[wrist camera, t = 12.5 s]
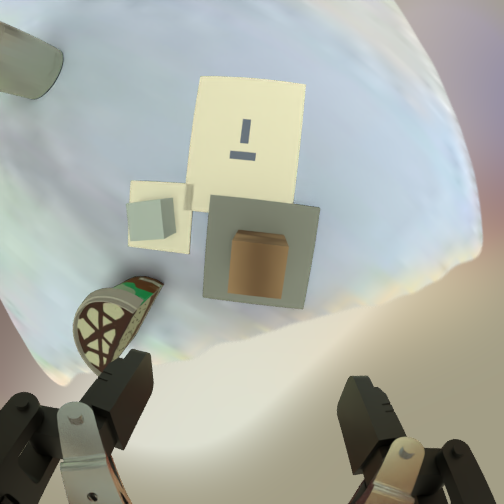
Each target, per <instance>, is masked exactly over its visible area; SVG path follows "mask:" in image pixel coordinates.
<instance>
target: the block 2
mask: <svg viewBox="0 0 504 504" xmlns="http://www.w3.org/2000/svg"><path fill="white" fill-rule="evenodd" d="M288 250H289V246H288V243H287V241H286V238H285V236H284V235H280V234H272V233H263V232H255V231H246V230H238V231H237V233H236V235H235V236H234V238H233V240H232V248H231V259H230V270H229V281H228V293H232V294H240V295H248V296H257V297H266V298H275V299H281V296H282V290H283V283H284V277H285V270H286V263H287V256H288Z"/></svg>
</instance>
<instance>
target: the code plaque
mask: <svg viewBox="0 0 504 504" xmlns="http://www.w3.org/2000/svg"><path fill="white" fill-rule="evenodd" d="M305 87H306V85H304V84H298V83H291V82H284V81H276V80H266V79H256V78H242V77H220V76H200V82H199V87H198V93H197V99H196V106H195V112H194V119H193V126H192V133H191V141H190V149H189V157H188V166H187V176H186V185H187V186H188V184H190V185H189V186H188V187H189V188H188V187H187V186H186V189H187V191H188V190H189V191H191V190H193V189H194V190H193V191H191V192H188V194H186V193H187V191H185V192H186V193H185V194H186V195H187V196H188V195H192V194H193V195H192V199H191V200H190V201H189V199H190V198H189V199H186V198H187V197H186V195H185V197H186V198H185V197H184V198H185V199H186V201H185V199H184V202H187V203H186V204H188V202H189V204H188V205H189V206H187V205H185V206H184V207H187V208H188V207H189V208H190V206H191V208H190V209H192V210H188V209H189V208H188V209H187V208H186V209H187V210H188V211H198V212H208V213H209V204H210V195H220V196H230V197H240V198H249V199H258V200H266V201H274V202H282V203H290V204H293V200H294V192H295V184H296V175H297V167H298V158H299V149H300V140H301V130H302V120H303V110H304V99H305ZM193 184H194V185H193ZM191 185H193V187H194V188H193V187H192V186H191ZM192 188H193V189H192ZM192 192H193V193H192ZM190 193H191V194H190ZM189 197H190V196H189ZM187 200H188V201H187ZM192 200H193V201H192ZM191 202H192V203H191ZM190 203H191V205H190ZM184 204H185V203H184ZM186 209H185V208H184V209H183V210H186Z"/></svg>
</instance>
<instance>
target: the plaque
mask: <svg viewBox="0 0 504 504" xmlns="http://www.w3.org/2000/svg"><path fill="white" fill-rule="evenodd" d="M189 185H190V184H188V186H189ZM193 185H194V184H193ZM193 185H191V186H192V187H193ZM186 186H187V185H186V184H185V183H170V182H152V181H131V186H130V201H129V203H134V202H140V201H148V200H156V199H164V198H173V205H174V216H175V226H176V233H174V234H172V235H170V236H169V237H167V238H165V239H156V240H142V241H130V235H129V227H128V246H130V247H138V248H145V249H153V250H161V251H169V252H176V253H184V254H190V238H191V224H192V211H188V210H192V209H190V208H191V206H190V208H189V207H188V208H189V209H188V208H187V207H184V206H185V205H187V206H189V205H188V204H189V202H188V204H186V203H187V202H184V199H185V198H186V197H187V198H186V199H189V198H190V199H189V201H190V200H191V199H192V195H193V194H192V195H188V196H187V195H186V194H188V192H191V191H193V190H194V189H193V188H194V187H193V188H192V189H193V190H191V191H189V190H188V191H187V189H186ZM188 186H187V187H188ZM188 188H189V187H188ZM185 191H187V193H186V192H185ZM185 193H186V194H185ZM192 193H193V192H192ZM190 194H191V193H190ZM185 195H186V197H185ZM189 196H190V197H189ZM184 197H185V198H184ZM186 199H185V201H186ZM187 201H188V200H187ZM192 201H193V200H192ZM184 203H185V204H184ZM191 203H192V202H191ZM191 203H190V205H191ZM184 208H185V209H186V208H187V209H188V210H187V209H186V210H183V209H184Z"/></svg>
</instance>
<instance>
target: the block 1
mask: <svg viewBox="0 0 504 504" xmlns="http://www.w3.org/2000/svg"><path fill="white" fill-rule="evenodd" d="M126 209H127V218H128V227H129V235H130V241H142V240H156V239H165V238H167V237H169V236H170V235H172V234H174V233H176V226H175V216H174V205H173V198H164V199H156V200H148V201H140V202H134V203H128V204H126Z"/></svg>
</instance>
